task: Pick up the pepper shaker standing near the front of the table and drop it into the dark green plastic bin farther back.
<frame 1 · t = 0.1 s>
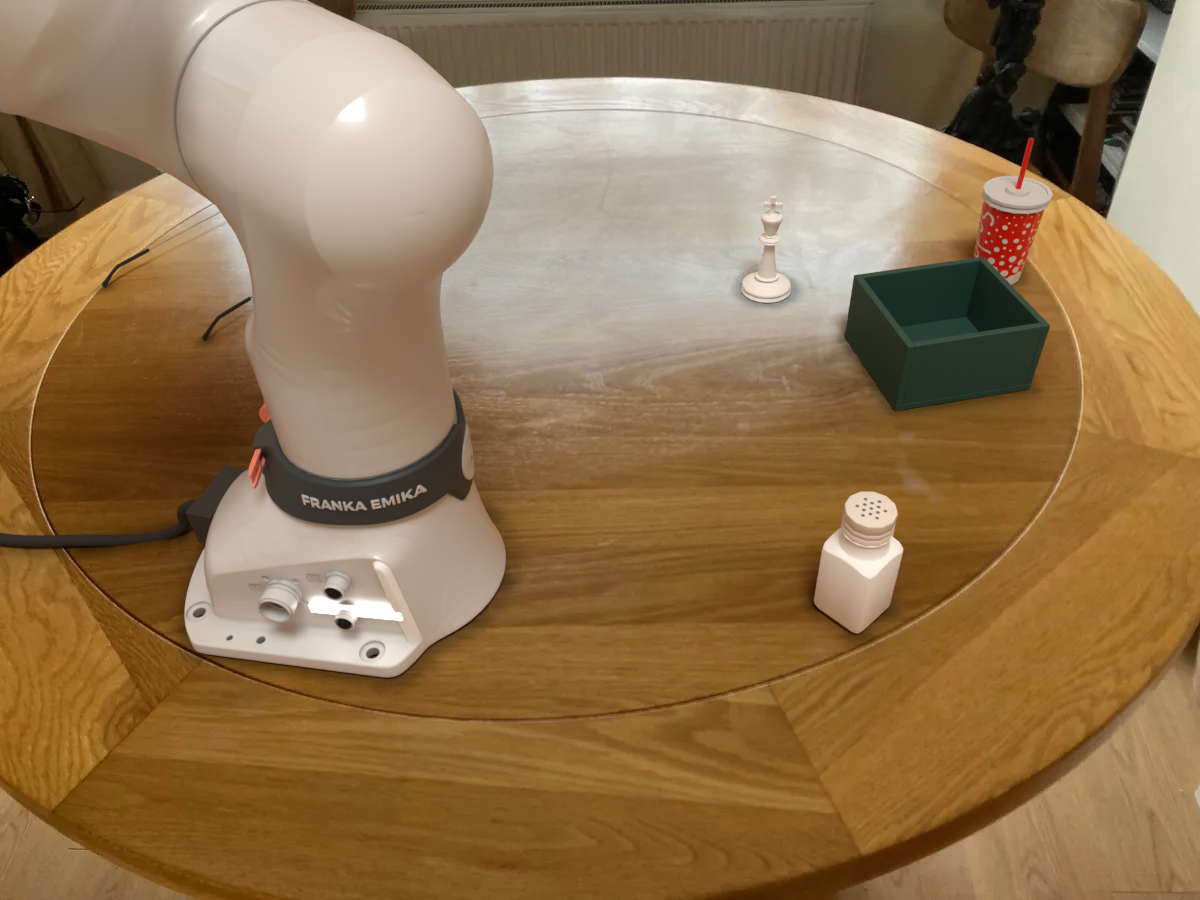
pepper shaker: (850, 608, 65), on the table
chess piece: (765, 291, 95), on the table
beverage cup: (995, 275, 96), on the table
eyeglasses: (229, 274, 102), on the table
bin: (933, 362, 85), on the table
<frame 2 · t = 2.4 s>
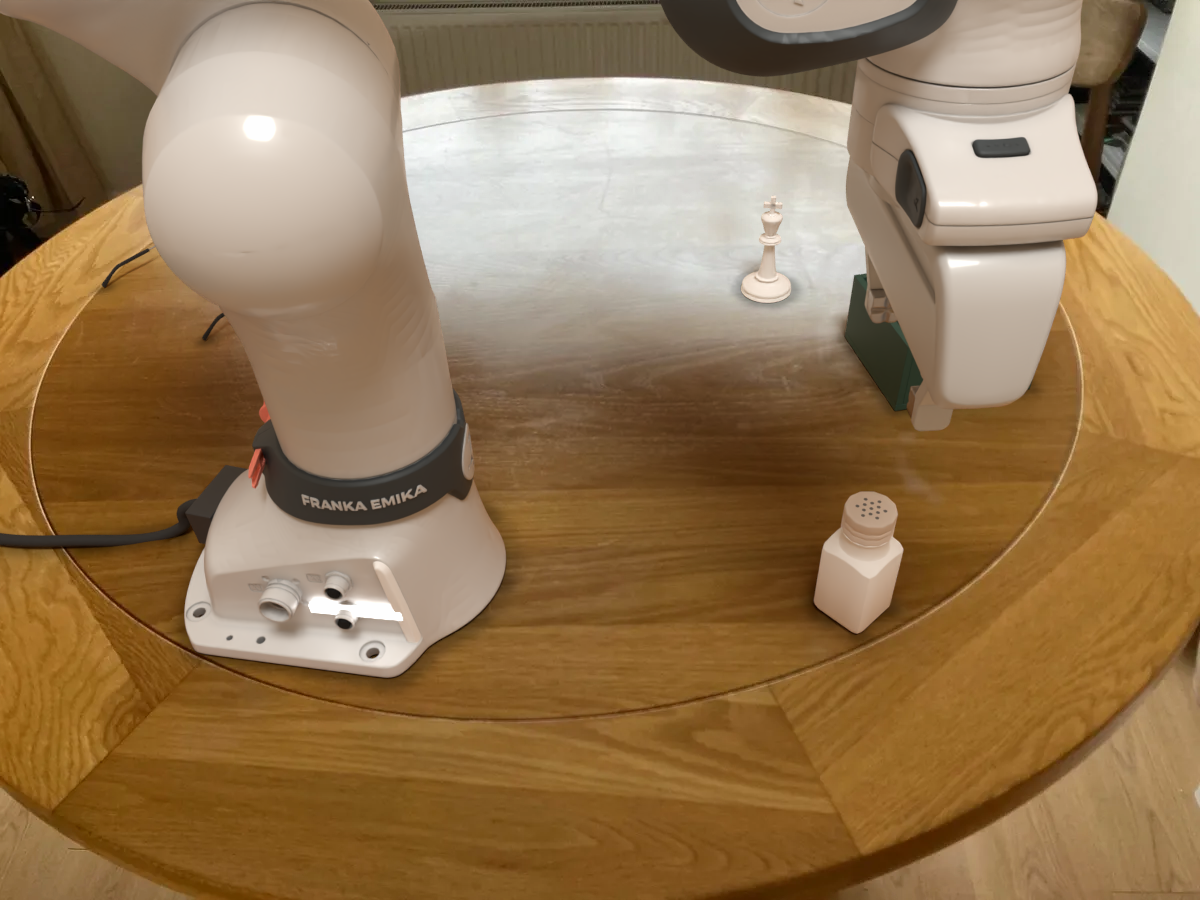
hand: (902, 365, 52), 20 cm above the table, tool pointing down, fingers open, 8 cm apart
nothing on the table moved.
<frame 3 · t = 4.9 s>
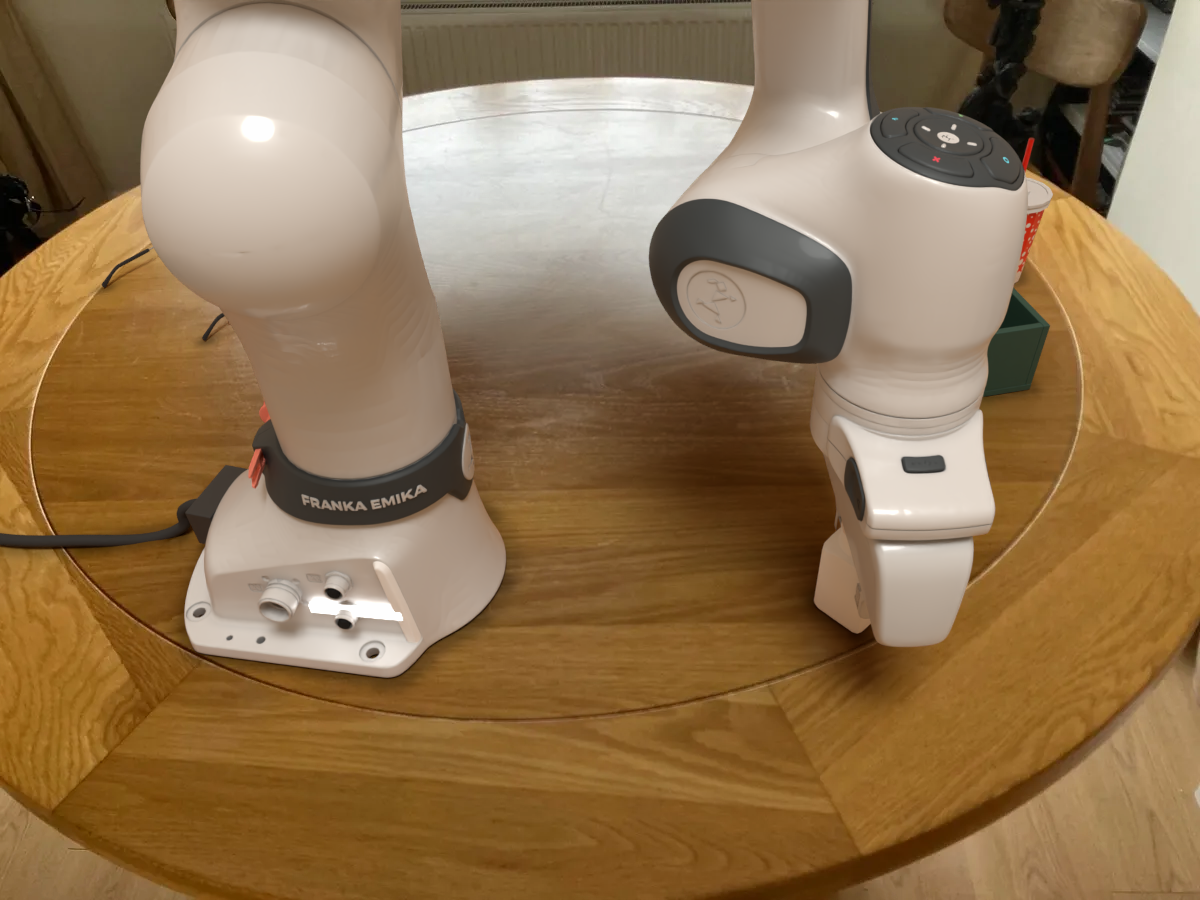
hand: (859, 571, 63), 4 cm above the table, tool pointing down, fingers closed on pepper shaker, 5 cm apart
pepper shaker: (850, 608, 66), on the table, touching gripper
everything else where it was.
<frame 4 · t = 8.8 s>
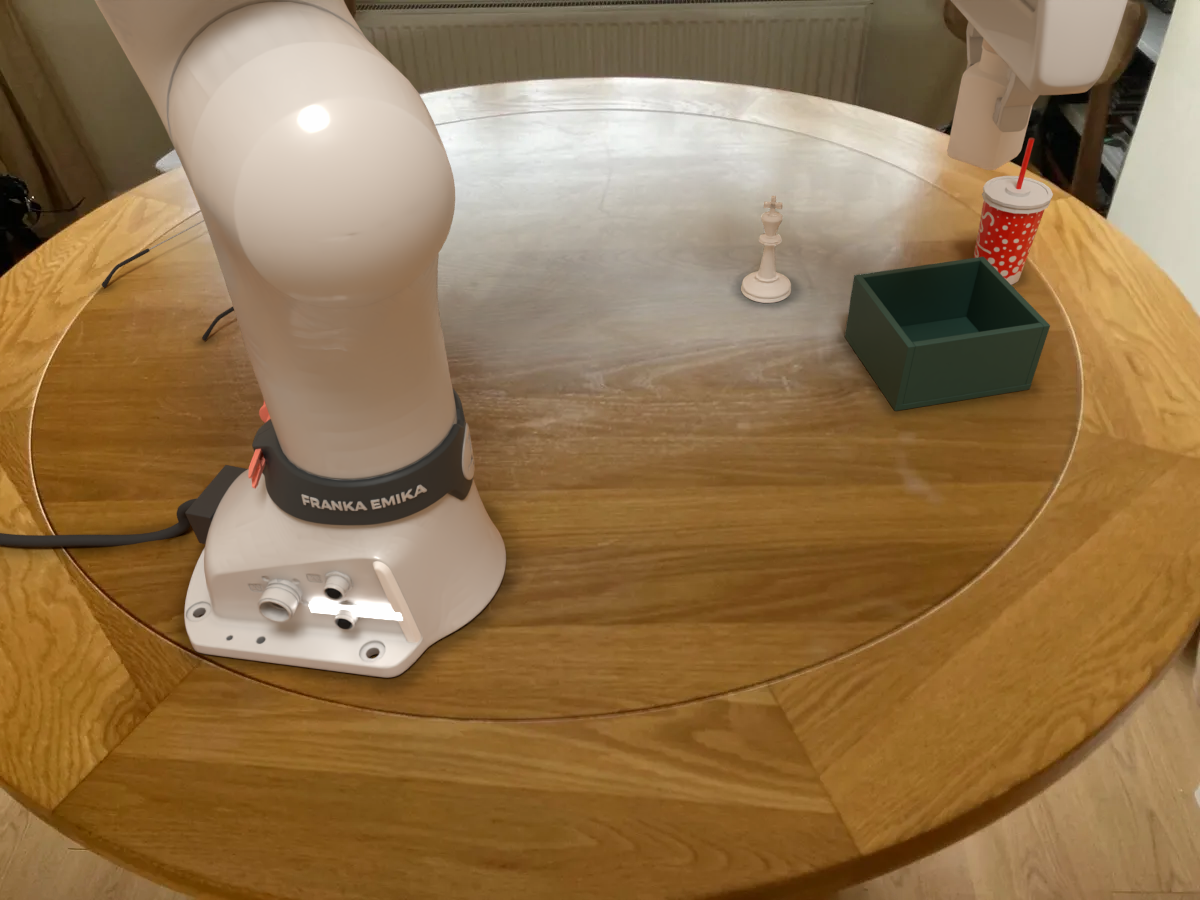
hand: (992, 108, 66), 25 cm above the table, tool pointing down, fingers closed on pepper shaker, 5 cm apart
pepper shaker: (981, 160, 69), point 21 cm above the table, touching gripper
everything else where it was.
when the fingers open (9 cm above the table, at t = 12.8 s): pepper shaker drops 5 cm, resting on bin.
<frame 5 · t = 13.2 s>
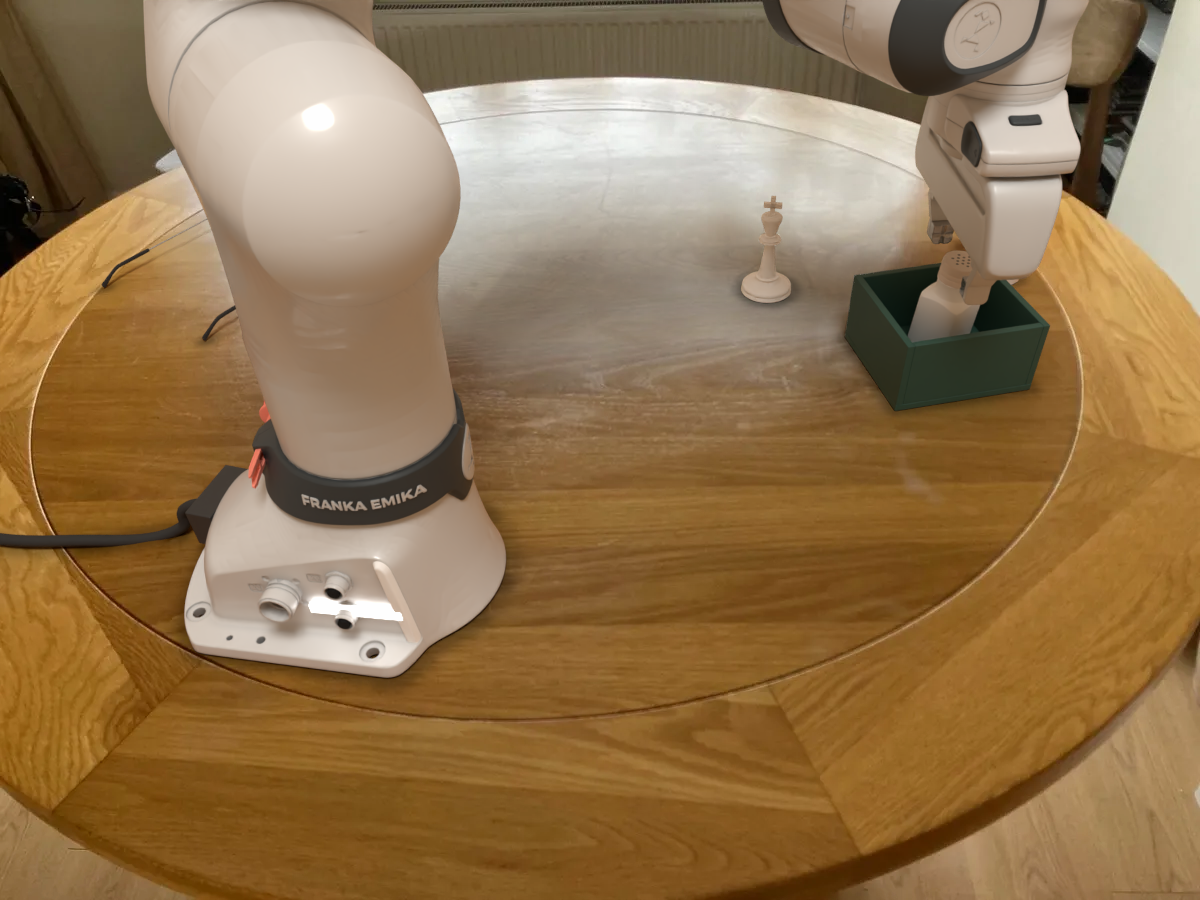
hand: (954, 268, 79), 10 cm above the table, tool pointing down, fingers open, 8 cm apart
pepper shaker: (932, 353, 85), point 1 cm above the table, touching bin
everything else where it was.
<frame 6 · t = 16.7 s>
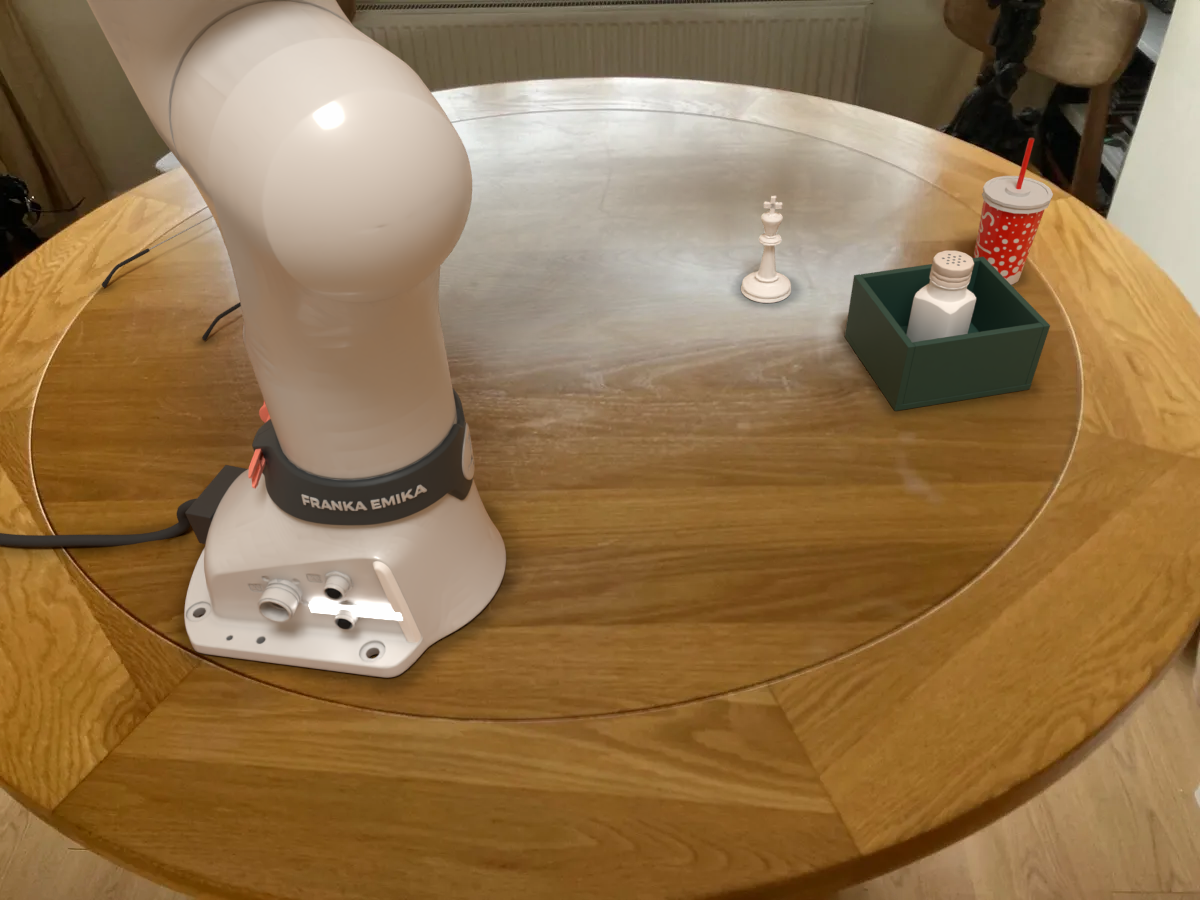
nothing on the table moved.
at the end: pepper shaker inside the target area in the bin (0.4 cm from its centre), point 0.4 cm above the bin's base; the gripper is holding nothing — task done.
